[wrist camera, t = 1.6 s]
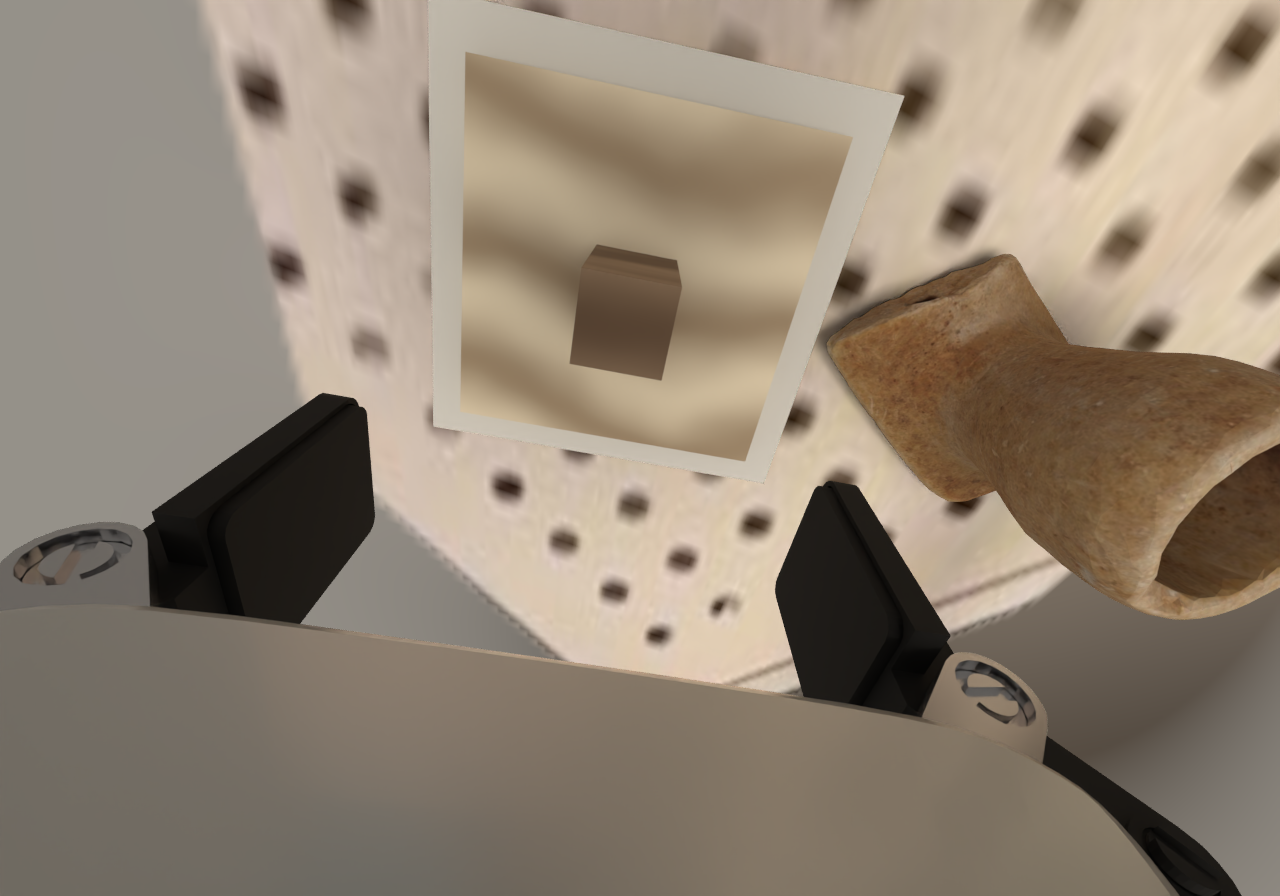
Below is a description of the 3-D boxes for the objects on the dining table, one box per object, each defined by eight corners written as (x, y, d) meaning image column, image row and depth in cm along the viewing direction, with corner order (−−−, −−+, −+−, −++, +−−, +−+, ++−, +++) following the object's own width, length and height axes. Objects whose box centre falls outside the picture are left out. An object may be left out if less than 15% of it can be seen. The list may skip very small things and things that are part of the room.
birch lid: (474, 56, 23) (405, 19, 17) (844, 137, 24) (911, 131, 18) (466, 403, 31) (418, 465, 25) (742, 451, 32) (762, 523, 26)
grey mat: (432, -9, 22) (427, -13, 22) (898, 97, 24) (904, 95, 23) (437, 422, 33) (433, 426, 32) (762, 478, 34) (763, 483, 33)
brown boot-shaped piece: (1122, 402, 31) (1466, 587, 18) (930, 506, 35) (1095, 718, 22) (1026, 181, 25) (1424, 210, 12) (811, 334, 29) (936, 479, 16)
